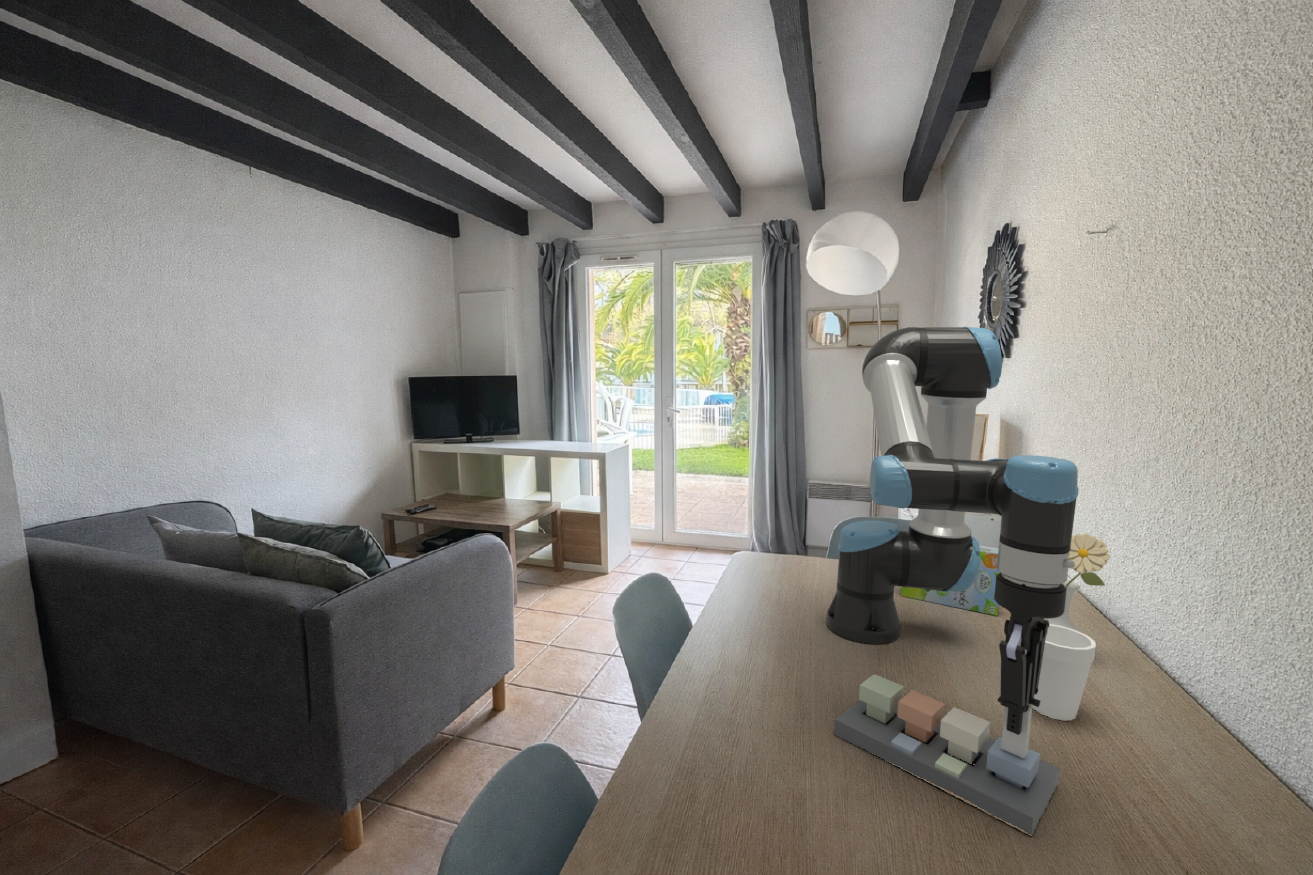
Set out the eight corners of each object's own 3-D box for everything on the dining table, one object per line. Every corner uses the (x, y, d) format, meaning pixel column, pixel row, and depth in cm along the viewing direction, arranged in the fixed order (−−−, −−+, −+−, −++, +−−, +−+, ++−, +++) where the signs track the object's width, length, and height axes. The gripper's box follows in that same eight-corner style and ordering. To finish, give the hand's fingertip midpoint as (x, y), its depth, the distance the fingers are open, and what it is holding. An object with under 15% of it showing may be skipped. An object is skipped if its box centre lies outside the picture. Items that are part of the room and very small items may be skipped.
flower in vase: (1012, 640, 119) (1023, 525, 116) (1047, 631, 124) (1058, 520, 121) (1079, 670, 107) (1093, 542, 105) (1115, 659, 112) (1129, 536, 109)
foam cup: (1067, 733, 88) (1075, 654, 87) (1007, 702, 96) (1014, 629, 95) (1099, 717, 92) (1107, 641, 91) (1039, 689, 101) (1046, 619, 99)
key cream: (938, 752, 79) (940, 720, 79) (951, 738, 83) (953, 706, 82) (975, 770, 76) (978, 736, 75) (987, 754, 79) (990, 722, 79)
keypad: (834, 734, 87) (835, 715, 86) (873, 702, 96) (874, 684, 95) (1031, 837, 68) (1033, 813, 68) (1058, 785, 77) (1060, 763, 76)
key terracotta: (896, 732, 84) (898, 701, 83) (909, 719, 87) (912, 689, 86) (929, 748, 80) (932, 716, 80) (942, 734, 84) (945, 703, 83)
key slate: (984, 785, 75) (987, 751, 75) (996, 769, 79) (999, 736, 78) (1026, 806, 72) (1029, 770, 71) (1036, 787, 75) (1040, 753, 75)
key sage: (857, 714, 88) (859, 684, 88) (872, 702, 91) (874, 674, 91) (888, 728, 85) (890, 698, 84) (902, 716, 88) (904, 686, 87)
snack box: (998, 609, 136) (1004, 548, 134) (997, 617, 131) (1003, 554, 130) (903, 589, 147) (907, 533, 146) (899, 596, 142) (903, 538, 141)
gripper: (1053, 600, 65) (1033, 790, 67) (1078, 574, 74) (1060, 743, 76) (981, 581, 70) (965, 758, 73) (1012, 560, 79) (997, 718, 82)
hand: (1014, 750), depth 75 cm, fingers closed
